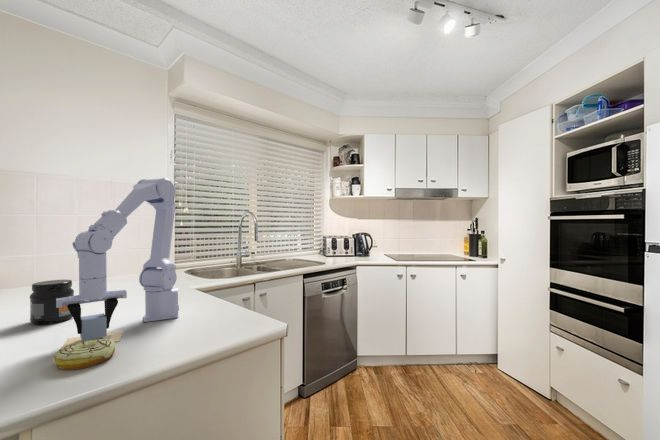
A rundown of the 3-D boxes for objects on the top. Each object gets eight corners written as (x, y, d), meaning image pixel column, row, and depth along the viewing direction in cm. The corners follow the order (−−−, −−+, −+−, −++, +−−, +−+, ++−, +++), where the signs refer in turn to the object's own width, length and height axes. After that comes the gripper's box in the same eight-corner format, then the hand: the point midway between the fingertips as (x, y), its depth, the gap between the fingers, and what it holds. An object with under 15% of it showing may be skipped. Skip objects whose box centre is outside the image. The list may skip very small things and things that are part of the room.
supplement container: (82, 315, 105) (82, 279, 105) (51, 326, 95) (51, 285, 95) (53, 315, 106) (53, 278, 107) (19, 325, 96) (19, 285, 96)
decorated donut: (120, 361, 71) (120, 343, 71) (57, 378, 63) (57, 359, 63) (109, 348, 78) (109, 332, 78) (51, 362, 71) (51, 344, 71)
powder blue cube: (103, 331, 87) (103, 313, 87) (106, 336, 83) (106, 317, 83) (80, 336, 83) (80, 317, 83) (82, 341, 79) (82, 321, 80)
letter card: (122, 331, 90) (122, 330, 90) (119, 341, 82) (119, 340, 82) (67, 339, 84) (67, 338, 84) (59, 351, 76) (59, 350, 76)
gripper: (123, 272, 91) (123, 320, 91) (55, 279, 81) (56, 333, 81) (128, 275, 86) (128, 326, 86) (56, 282, 76) (57, 340, 76)
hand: (93, 330), depth 83 cm, fingers closed on powder blue cube, 5 cm apart
